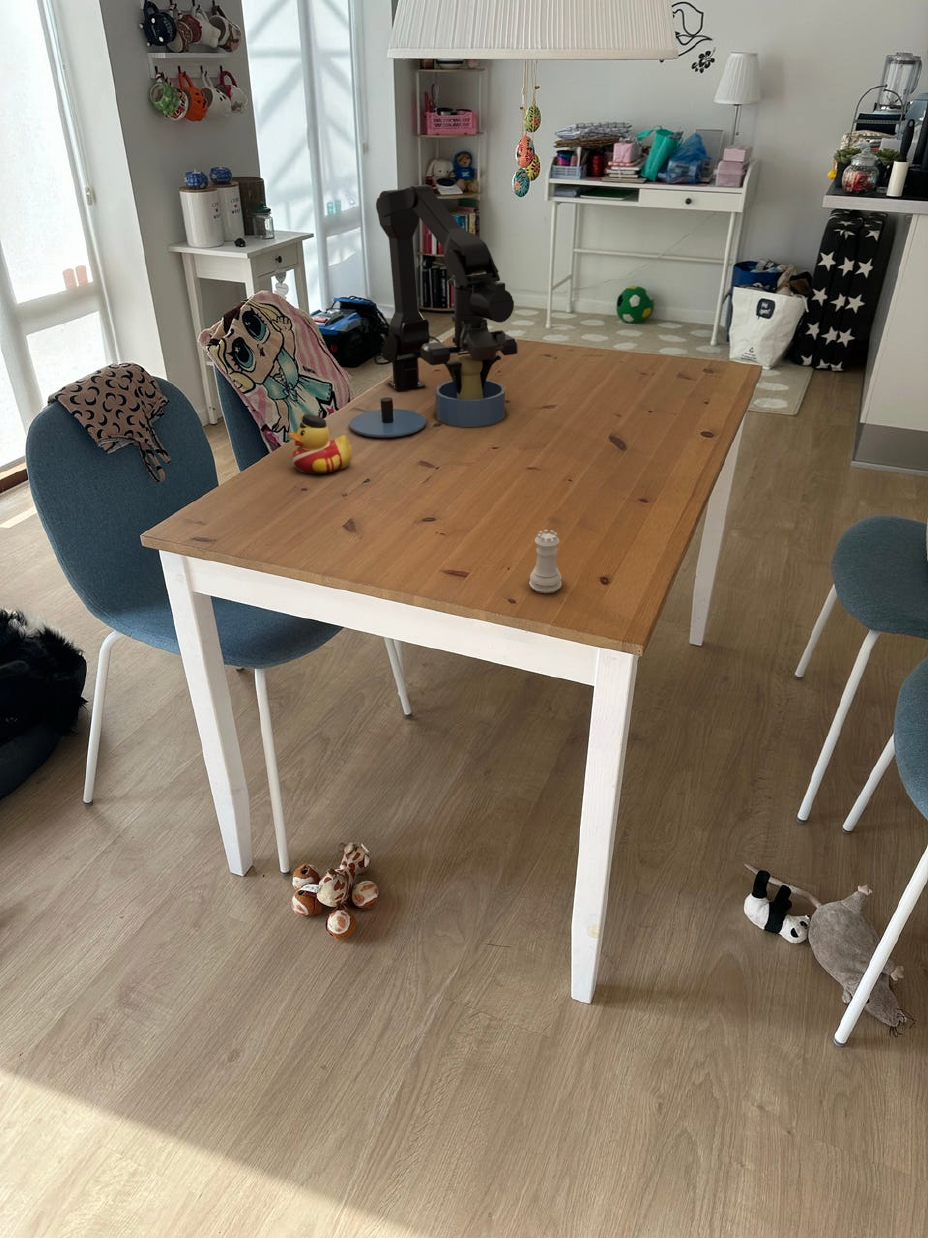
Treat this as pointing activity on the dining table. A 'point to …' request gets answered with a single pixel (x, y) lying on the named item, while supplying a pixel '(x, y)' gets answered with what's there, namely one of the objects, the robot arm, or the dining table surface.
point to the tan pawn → (470, 378)
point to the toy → (318, 447)
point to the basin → (470, 406)
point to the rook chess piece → (546, 564)
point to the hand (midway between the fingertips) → (469, 391)
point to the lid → (387, 421)
